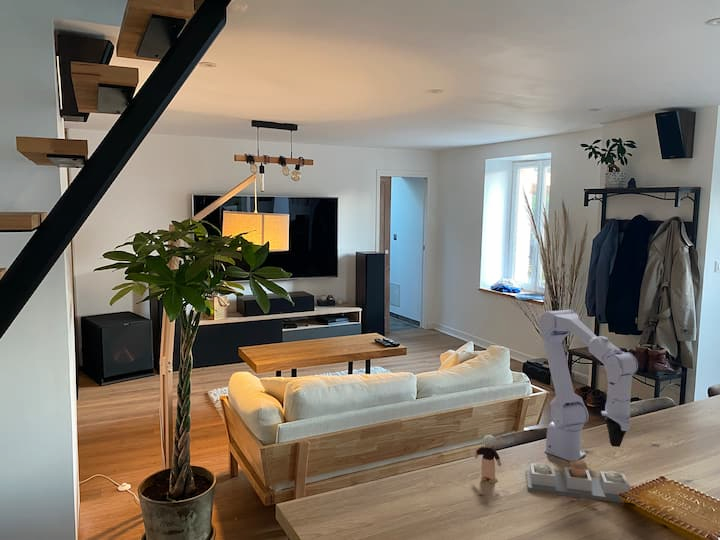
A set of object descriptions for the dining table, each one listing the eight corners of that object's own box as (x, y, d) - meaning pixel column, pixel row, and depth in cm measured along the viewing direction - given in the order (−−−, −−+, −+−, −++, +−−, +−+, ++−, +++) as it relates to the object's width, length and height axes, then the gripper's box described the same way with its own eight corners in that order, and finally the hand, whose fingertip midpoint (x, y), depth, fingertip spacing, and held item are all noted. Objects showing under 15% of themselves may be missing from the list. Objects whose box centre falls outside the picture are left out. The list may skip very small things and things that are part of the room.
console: (527, 490, 143) (528, 476, 143) (525, 472, 153) (526, 459, 153) (634, 504, 137) (635, 489, 137) (625, 484, 147) (626, 470, 147)
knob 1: (535, 481, 146) (535, 469, 145) (534, 474, 150) (534, 462, 149) (550, 483, 145) (551, 470, 144) (549, 476, 149) (549, 464, 148)
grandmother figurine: (502, 479, 150) (504, 435, 148) (499, 485, 146) (501, 440, 145) (474, 473, 153) (476, 430, 151) (471, 479, 149) (473, 435, 148)
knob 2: (607, 490, 141) (608, 477, 141) (604, 482, 145) (604, 470, 145) (623, 492, 141) (624, 479, 140) (620, 484, 144) (621, 472, 144)
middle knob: (571, 478, 143) (571, 465, 143) (568, 470, 147) (569, 458, 147) (587, 480, 142) (587, 467, 142) (584, 472, 146) (585, 460, 146)
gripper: (595, 387, 154) (592, 433, 155) (611, 406, 139) (607, 456, 141) (621, 389, 153) (618, 435, 154) (640, 408, 138) (636, 458, 140)
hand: (615, 445), depth 148 cm, fingers closed
